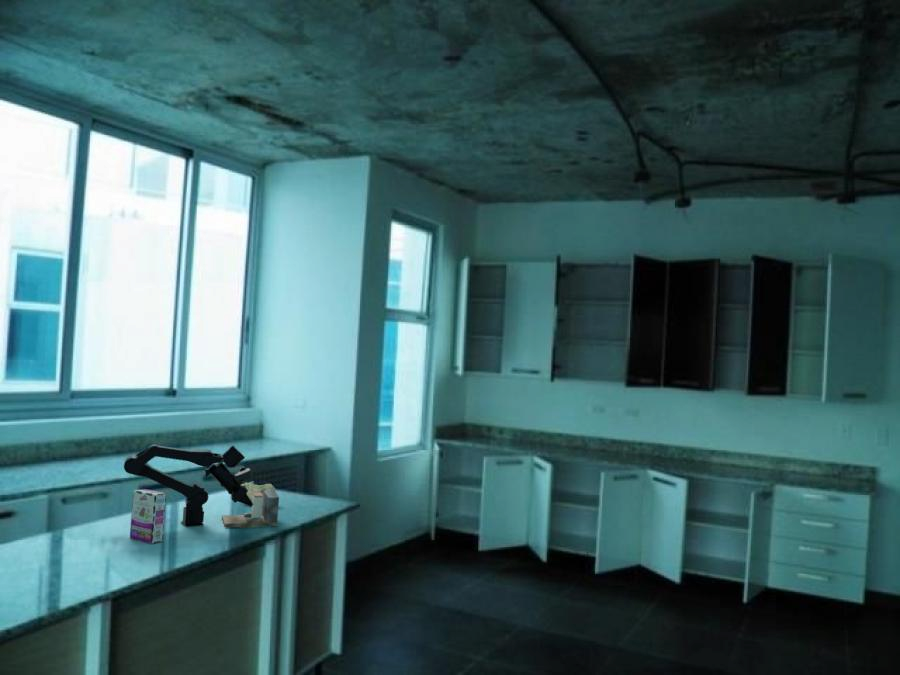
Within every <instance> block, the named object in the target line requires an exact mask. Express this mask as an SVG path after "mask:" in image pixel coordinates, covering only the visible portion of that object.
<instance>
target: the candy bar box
mask: <svg viewBox="0 0 900 675" xmlns="http://www.w3.org/2000/svg"><path fill="white" fill-rule="evenodd" d="M167 495H168V494H167V493H166V492H162V491H157V490H152V489H148V488H141V489H136V490H133V493H132V506H131V517H130V530H129V539H130V540H135V541H138V542H142V543H146V544H150V545H154V544H158V543H162V542H163V541H164V533H165V532H164V530H165V517H166V506H167V504H166V503H167ZM161 541H162V542H161Z"/></svg>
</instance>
